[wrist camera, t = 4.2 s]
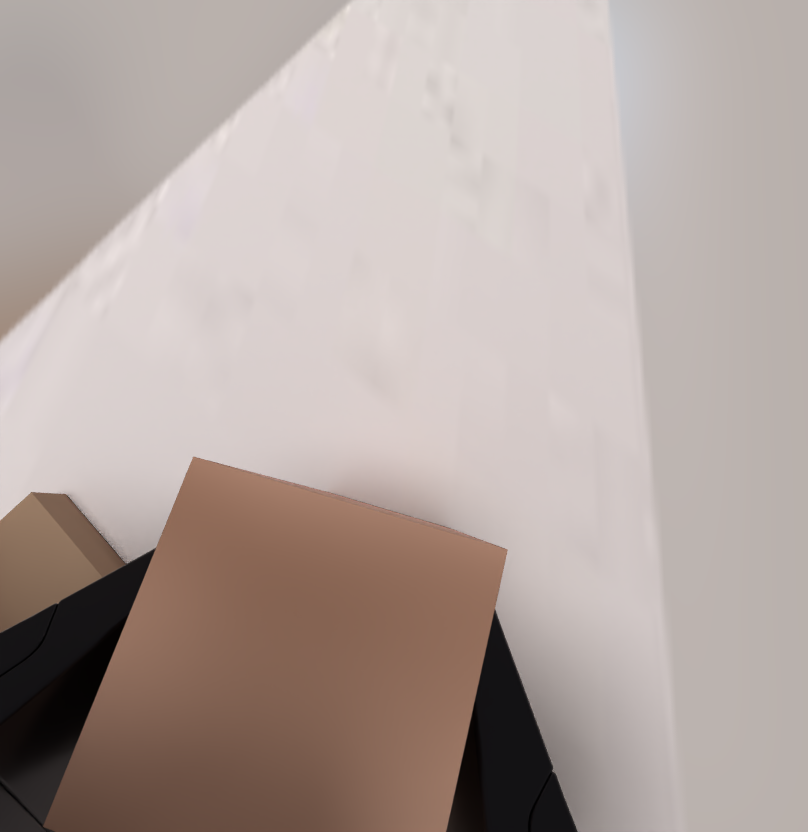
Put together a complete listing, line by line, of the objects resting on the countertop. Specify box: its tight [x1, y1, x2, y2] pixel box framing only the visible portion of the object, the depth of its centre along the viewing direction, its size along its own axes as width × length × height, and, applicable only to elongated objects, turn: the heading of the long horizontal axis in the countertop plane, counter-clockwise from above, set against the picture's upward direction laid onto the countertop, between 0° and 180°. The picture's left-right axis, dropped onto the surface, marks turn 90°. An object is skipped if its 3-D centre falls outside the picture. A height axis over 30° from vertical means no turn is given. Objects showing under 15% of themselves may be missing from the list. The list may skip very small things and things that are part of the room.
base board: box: [0, 492, 126, 632], centre depth 14 cm, size 10×10×2 cm
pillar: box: [43, 457, 507, 832], centre depth 10 cm, size 5×5×10 cm
